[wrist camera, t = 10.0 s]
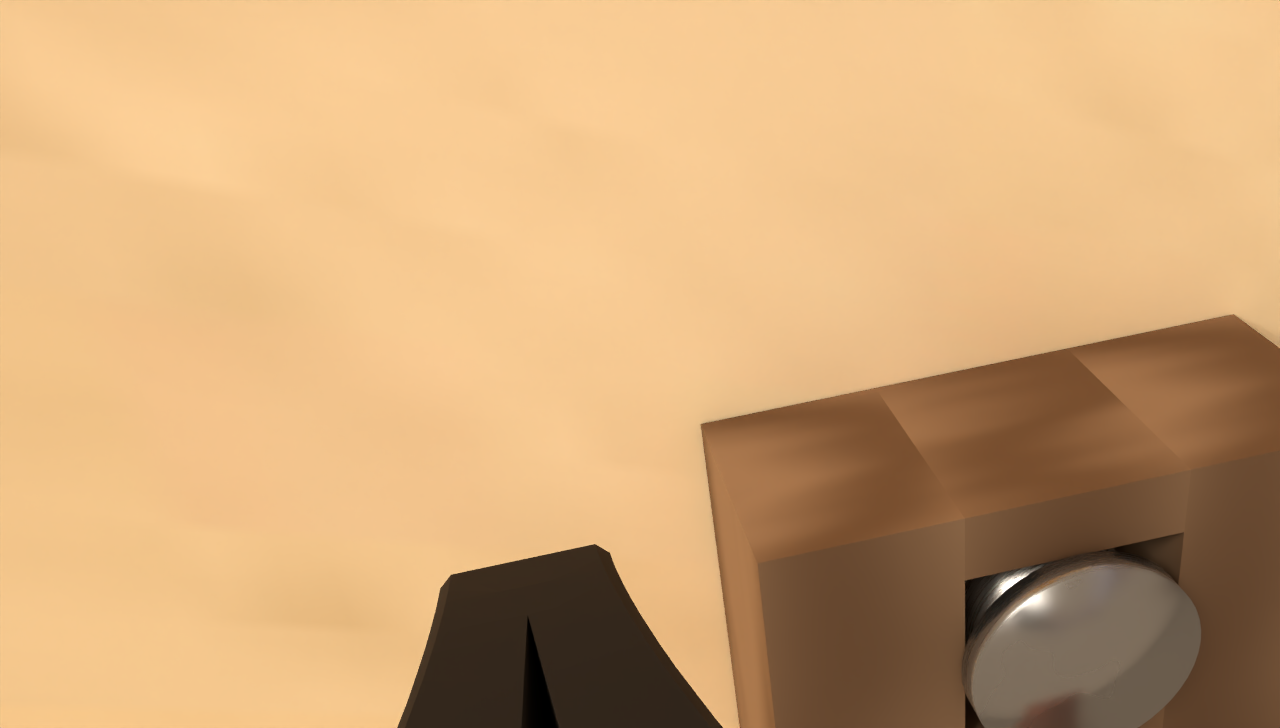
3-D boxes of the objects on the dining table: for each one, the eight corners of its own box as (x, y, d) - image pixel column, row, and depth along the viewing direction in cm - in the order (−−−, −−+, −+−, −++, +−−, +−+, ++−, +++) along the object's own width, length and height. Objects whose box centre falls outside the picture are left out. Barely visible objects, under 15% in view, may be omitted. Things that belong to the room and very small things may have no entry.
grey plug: (1085, 415, 22) (1212, 548, 18) (1075, 577, 24) (1190, 726, 20) (883, 458, 22) (973, 601, 18) (890, 618, 24) (973, 777, 20)
